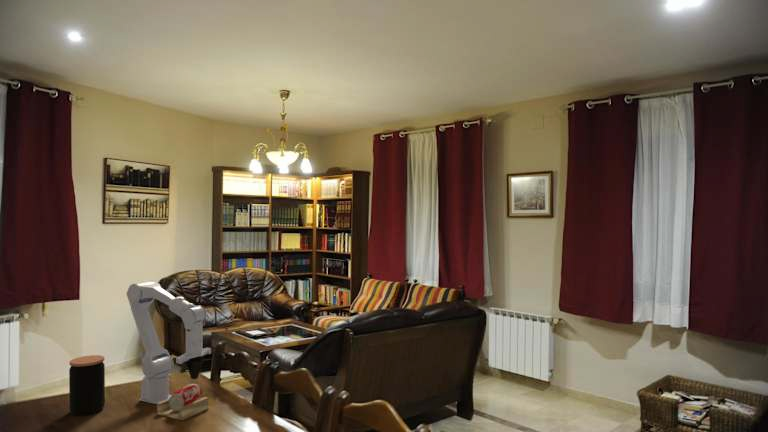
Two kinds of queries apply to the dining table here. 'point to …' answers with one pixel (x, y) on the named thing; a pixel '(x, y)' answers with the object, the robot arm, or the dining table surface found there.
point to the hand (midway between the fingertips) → (194, 378)
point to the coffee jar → (87, 385)
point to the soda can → (185, 396)
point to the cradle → (182, 409)
